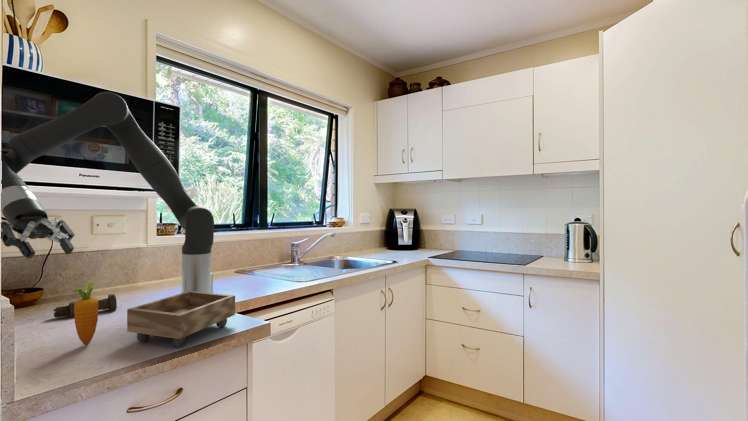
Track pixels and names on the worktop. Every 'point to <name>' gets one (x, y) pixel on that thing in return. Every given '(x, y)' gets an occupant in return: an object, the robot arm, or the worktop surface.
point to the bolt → (102, 304)
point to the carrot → (86, 315)
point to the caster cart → (180, 315)
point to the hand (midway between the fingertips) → (51, 254)
